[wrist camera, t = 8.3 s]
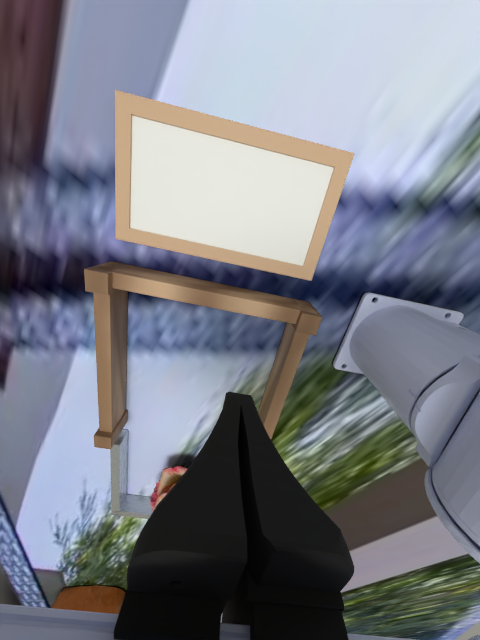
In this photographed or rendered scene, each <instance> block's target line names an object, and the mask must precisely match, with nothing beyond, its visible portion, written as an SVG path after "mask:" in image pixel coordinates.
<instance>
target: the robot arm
mask: <svg viewBox="0 0 480 640" xmlns="http://www.w3.org/2000/svg"><path fill="white" fill-rule="evenodd" d="M373 298H375V301H373V302H372V299H373ZM446 314H447V315H446ZM445 315H446V316H445ZM462 319H463V314H462V313H460V312H458V311H453V310H449V309H444V308H440V307H435V306H430V305H426V304H421V303H416V302H412V301H407V300H402V299H398V298H393V297H388V296H384V295H379V294H374V293H365V294H364V295H363V296H362V298H361V301H360V303H359V305H358V307H357V310H356V312H355V314H354V316H353V319H352V321H351V323H350V326H349V328H348V330H347V332H346V335H345V337H344V339H343V341H342V344H341V346H340V348H339V351H338V353H337V355H336V357H335V360H334V362H333V366H334V368H335V369H338V370H343V371H349V372H354V373H360V374H364V375H365V376H366V377H367V378H368V380H369V381H370V382H371V383H372V385H373V386H374V387H375V388H376V389H377V391H378V392H379V393H380V394H381V395H382V397H383V398H384V399H385V400H386V402H387V403H388V404H389V405H390V406H391V408H392V409H393V410H394V411H395V413H396V414H397V415H398V416H399V417H400V419H401V420H402V421H403V422H404V423H405V425H406V426H407V427H408V428H409V430H410V431H411V432H412V433H413V434H414V436H415V437H416V439H417V446H416V449H415V450H416V451H417V452H418V454H419V455H420V456H421V458H422V459H423V460H424V462H425V463H426V464H427V465H428V467H429V469H428V470H427V472H426V475H425V489H426V493H427V496H428V499H429V501H430V503H431V505H432V507H433V509H434V511H435V512H436V514H437V516H438V517H439V519H440V520H441V522H442V523H443V524H444V526H445V527H446V529H447V530H448V531H449V532H450V533H451V535H452V536H453V537H454V538H455V539H456V541H457V542H458V543H459V544H460V545H461V546H462V547H463V548H464V549H465V550H466V551H467V552H468V553H469V554H470V555H471V556H472V557H473V558H474V559H475V560H477V561H478V562H479V563H480V334H478V333H476V332H474V331H472V330H470V329H468V328H465V327H463V326H461V325H459V324H460V322H461V321H462ZM343 364H345V365H344V366H342V365H343ZM353 573H354V565H353V562H352V559H351V556H350V553H349V550H348V547H347V545H346V542H345V540H344V537H343V535H342V533H341V530H340V529H339V528H338V527H337V525H336V524H335V523H334V522H333V521H332V520H331V519H330V518H329V517H328V516H327V515H326V514H325V513H324V512H323V511H322V510H321V509H320V508H319V506H318V505H317V504H316V503H315V502H314V501H313V500H312V498H311V497H310V496H309V495H308V494H307V492H306V491H305V490H304V489H303V487H302V486H301V485H300V483H299V482H298V481H297V479H296V478H295V477H294V476H293V474H292V473H291V471H290V470H289V468H288V467H287V466H286V464H285V463H284V461H283V459H282V458H281V456H280V455H279V453H278V451H277V450H276V448H275V446H274V444H273V443H272V441H271V439H270V437H269V435H268V433H267V431H266V429H265V427H264V425H263V423H262V421H261V419H260V416H259V414H258V412H257V409H256V407H255V404H254V401H253V398H252V397H251V395H245V394H239V393H233V392H228V393H226V397H225V401H224V405H223V409H222V412H221V414H220V416H219V419H218V421H217V423H216V425H215V427H214V429H213V431H212V433H211V434H210V436H209V438H208V440H207V441H206V443H205V445H204V446H203V448H202V449H201V451H200V452H199V454H198V455H197V457H196V458H195V460H194V461H193V462H192V464H191V465H190V467H189V468H188V469H187V470H186V472H185V473H184V474H183V475H182V477H181V478H180V479H179V481H178V482H177V483H176V484H175V485H174V487H173V488H172V489H171V490H170V491H169V492H168V493H167V494H166V496H165V497H164V498H163V499H162V500H161V501H160V502H159V503H158V505H157V506H156V508H155V510H154V511H153V513H152V514H151V516H150V518H149V519H148V521H147V523H146V524H145V526H144V528H143V530H142V532H141V533H140V535H139V537H138V540H137V542H136V544H135V547H134V550H133V553H132V556H131V559H130V563H129V566H128V570H127V590H126V593H125V596H124V599H123V603H122V606H121V609H120V612H119V614H111V613H99V612H87V611H76V610H64V609H52V608H41V607H29V606H17V605H5V604H0V640H415V639H403V638H391V637H379V636H368V635H356V634H347V631H346V627H345V623H344V619H343V616H342V612H341V611H343V610H344V603H343V600H342V596H341V592H340V591H341V590H342V589H343V587H344V586H345V585H346V584H347V583H348V582H349V580H350V579H351V577H352V576H353ZM222 612H223V615H222V623H220V621H221V614H222ZM469 640H480V635H477V636H474V637H472V638H470V639H469Z"/></svg>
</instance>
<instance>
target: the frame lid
mask: <svg viewBox="0 0 480 640" xmlns="http://www.w3.org/2000/svg"><path fill="white" fill-rule="evenodd" d="M353 156H354V153H351V152H347V151H344V150H340V149H336V148H332V147H328V146H325V145H321V144H317V143H313V142H310V141H306V140H302V139H298V138H295V137H291V136H287V135H283V134H279V133H276V132H272V131H268V130H264V129H261V128H257V127H253V126H249V125H246V124H242V123H238V122H234V121H231V120H227V119H223V118H219V117H215V116H212V115H208V114H204V113H200V112H197V111H193V110H189V109H185V108H182V107H178V106H174V105H170V104H166V103H163V102H159V101H155V100H151V99H148V98H144V97H140V96H136V95H133V94H129V93H125V92H121V91H118V90H115V195H116V239H119V240H124V241H128V242H133V243H138V244H142V245H147V246H152V247H156V248H161V249H165V250H170V251H175V252H179V253H184V254H189V255H193V256H198V257H203V258H207V259H212V260H217V261H221V262H226V263H231V264H235V265H240V266H245V267H249V268H254V269H259V270H263V271H268V272H273V273H277V274H282V275H287V276H291V277H296V278H301V279H305V280H310V281H311V280H312V277H313V274H314V271H315V269H316V266H317V263H318V260H319V257H320V254H321V251H322V248H323V245H324V242H325V239H326V236H327V233H328V230H329V227H330V224H331V221H332V218H333V215H334V212H335V210H336V207H337V204H338V201H339V198H340V195H341V192H342V189H343V186H344V183H345V180H346V177H347V174H348V171H349V168H350V165H351V162H352V159H353Z"/></svg>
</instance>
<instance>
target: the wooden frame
mask: <svg viewBox="0 0 480 640" xmlns="http://www.w3.org/2000/svg"><path fill="white" fill-rule="evenodd" d="M84 274H85V291H88V292H93V293H94V316H95V338H96V361H97V384H98V406H99V429H98V430H97V432H96V433H95V435H94V446H95V447H99V448H106V449H111V448H112V447H113V445H114V443H115V441H116V440H117V438H118V436H119V434H120V433H121V431H122V429H123V427H124V426H125V424H126V422H127V420H128V410H126V376H127V319H128V291H130V292H135V293H140V294H145V295H150V296H155V297H161V298H166V299H171V300H176V301H181V302H186V303H191V304H196V305H201V306H206V307H211V308H216V309H221V310H226V311H231V312H236V313H241V314H246V315H252V316H257V317H262V318H267V319H272V320H277V321H282V322H287V323H286V327H285V330H284V333H283V336H282V339H281V342H280V345H279V348H278V352H277V355H276V358H275V361H274V364H273V367H272V370H271V374H270V377H269V380H268V383H267V386H266V389H265V392H264V395H263V399H262V402H261V405H260V408H259V411H258V414H259V416H260V419H261V421H262V423H263V425H264V427H265V429H266V431H267V433H268V435H269V437H270V439H271V438H272V435H273V432H274V430H275V427H276V424H277V422H278V419H279V416H280V414H281V411H282V408H283V406H284V403H285V400H286V397H287V395H288V392H289V389H290V387H291V384H292V381H293V379H294V376H295V373H296V371H297V368H298V365H299V362H300V360H301V357H302V354H303V352H304V349H305V346H306V344H307V341H308V338H309V336H310V335H314V336H316V333H317V331H318V328H319V325H320V323H321V320H322V316H321V315H320V314H319V313H318V312H317V310H316V309H315V308H314V307H313V306H312V305H311V304H310V302H306V301H302V300H297V299H292V298H287V297H282V296H277V295H273V294H268V293H263V292H258V291H253V290H248V289H244V288H239V287H234V286H229V285H224V284H219V283H215V282H210V281H205V280H200V279H195V278H190V277H186V276H181V275H176V274H171V273H166V272H161V271H157V270H152V269H147V268H142V267H137V266H132V265H128V264H123V263H118V262H113V261H110V262H107V263H103V264H100V265H97V266H93V267H90V268H86V269H84Z"/></svg>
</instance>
